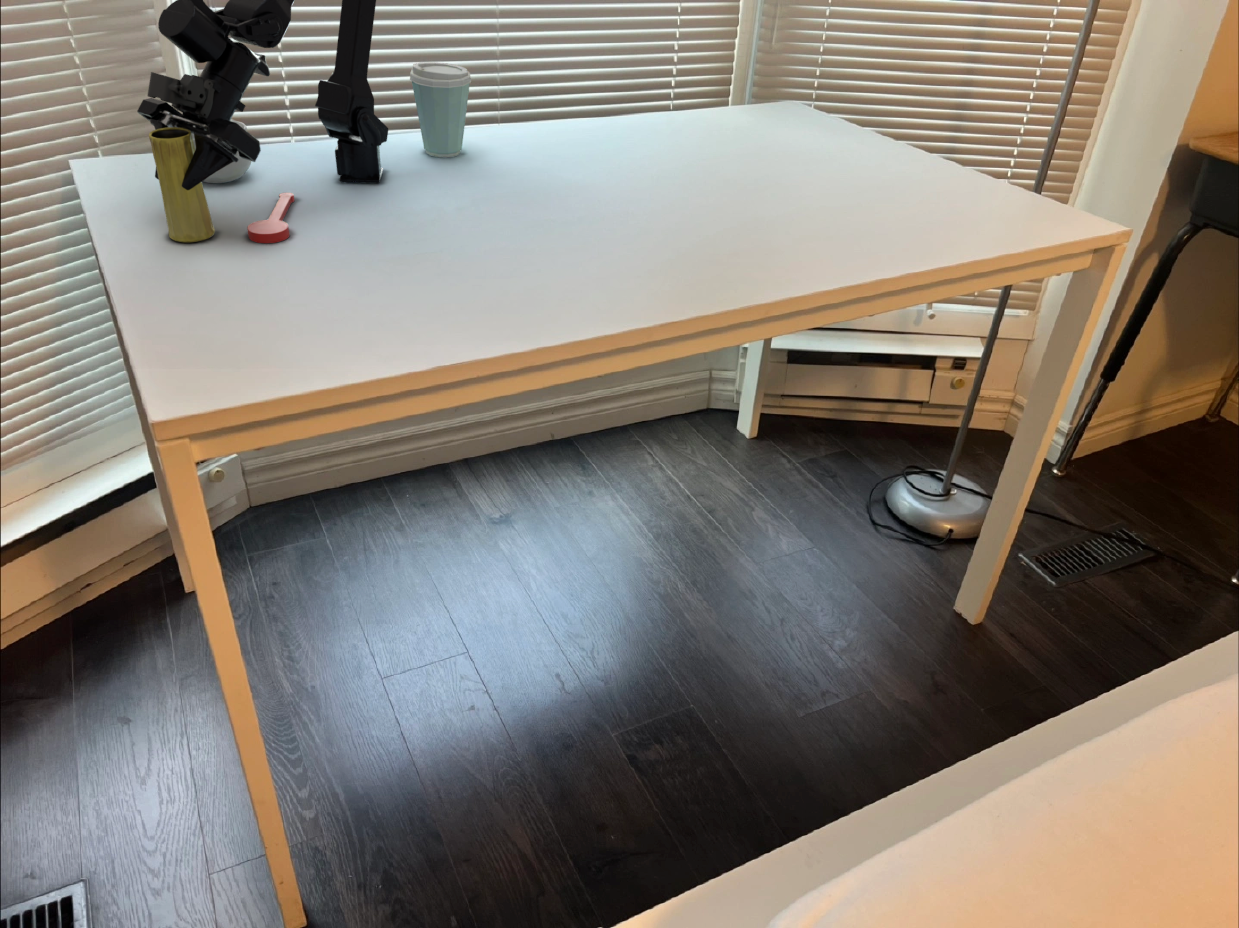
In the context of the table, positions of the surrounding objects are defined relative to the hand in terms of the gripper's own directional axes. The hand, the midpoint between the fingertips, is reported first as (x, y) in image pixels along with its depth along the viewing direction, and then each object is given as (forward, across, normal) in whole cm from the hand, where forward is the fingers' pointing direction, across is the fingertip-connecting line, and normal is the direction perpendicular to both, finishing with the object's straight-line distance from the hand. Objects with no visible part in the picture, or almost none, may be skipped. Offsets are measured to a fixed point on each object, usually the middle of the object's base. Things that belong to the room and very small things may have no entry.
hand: (171, 183), depth 130 cm
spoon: (-4, +4, +15) cm, 16 cm away
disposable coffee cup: (-32, +1, +44) cm, 55 cm away
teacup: (-9, -17, +21) cm, 29 cm away
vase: (+5, 0, +7) cm, 8 cm away
